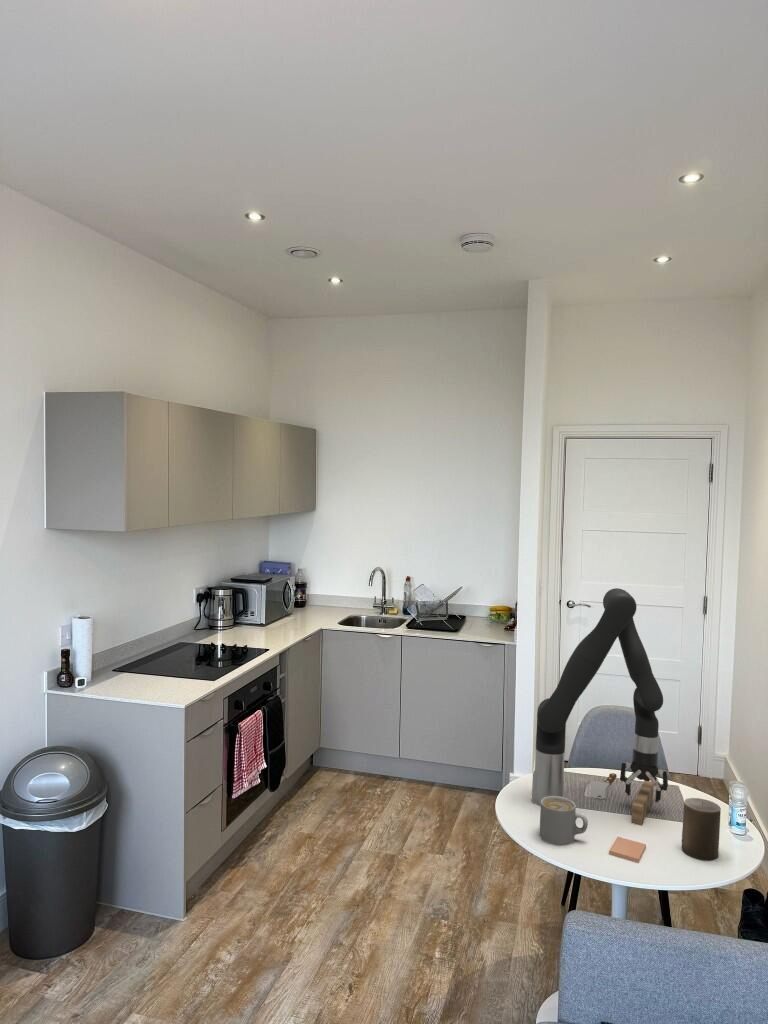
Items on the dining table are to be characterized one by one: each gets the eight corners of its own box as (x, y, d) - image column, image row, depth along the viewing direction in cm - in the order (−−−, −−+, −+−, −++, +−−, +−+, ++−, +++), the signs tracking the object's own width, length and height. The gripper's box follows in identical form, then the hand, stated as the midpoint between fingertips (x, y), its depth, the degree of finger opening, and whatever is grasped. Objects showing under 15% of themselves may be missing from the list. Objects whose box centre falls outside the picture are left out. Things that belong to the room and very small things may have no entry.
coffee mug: (534, 838, 209) (536, 805, 208) (545, 825, 217) (547, 793, 217) (580, 852, 202) (582, 817, 201) (590, 838, 210) (591, 804, 210)
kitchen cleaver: (594, 769, 261) (622, 774, 256) (594, 772, 261) (622, 777, 256) (574, 793, 240) (604, 799, 235) (574, 796, 240) (604, 803, 235)
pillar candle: (711, 864, 198) (714, 811, 197) (675, 851, 204) (678, 799, 204) (723, 852, 205) (726, 800, 204) (688, 840, 211) (691, 789, 211)
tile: (617, 841, 210) (608, 856, 201) (617, 836, 210) (609, 850, 201) (645, 849, 206) (638, 864, 197) (646, 844, 206) (638, 859, 197)
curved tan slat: (641, 826, 219) (642, 807, 219) (631, 823, 221) (632, 804, 220) (653, 799, 238) (654, 782, 238) (643, 797, 240) (644, 780, 240)
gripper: (620, 747, 229) (617, 797, 229) (668, 756, 222) (665, 807, 223) (624, 740, 235) (621, 788, 236) (670, 749, 229) (667, 798, 230)
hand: (642, 798), depth 230 cm, fingers open, 8 cm apart
